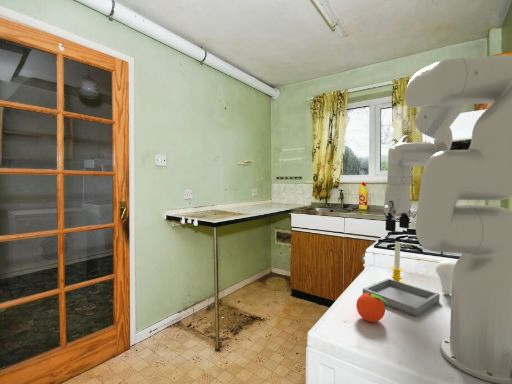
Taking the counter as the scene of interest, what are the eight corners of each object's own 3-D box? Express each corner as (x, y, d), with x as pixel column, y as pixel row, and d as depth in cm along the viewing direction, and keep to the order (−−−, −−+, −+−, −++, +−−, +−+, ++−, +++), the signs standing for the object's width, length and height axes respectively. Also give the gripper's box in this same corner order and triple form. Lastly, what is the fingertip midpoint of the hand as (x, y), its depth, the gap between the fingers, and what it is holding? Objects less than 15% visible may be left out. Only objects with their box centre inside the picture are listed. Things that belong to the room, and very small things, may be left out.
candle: (403, 282, 95) (405, 239, 94) (405, 287, 90) (406, 242, 89) (387, 279, 97) (389, 238, 96) (388, 284, 92) (389, 241, 92)
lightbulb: (450, 291, 87) (451, 258, 87) (463, 299, 81) (464, 264, 81) (431, 290, 88) (432, 257, 87) (442, 298, 82) (443, 263, 81)
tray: (439, 302, 79) (439, 294, 79) (415, 317, 70) (416, 308, 70) (388, 285, 92) (388, 278, 92) (362, 296, 83) (362, 288, 82)
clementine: (390, 319, 69) (391, 292, 69) (387, 332, 63) (388, 303, 63) (358, 311, 73) (359, 286, 73) (353, 322, 67) (353, 295, 67)
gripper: (400, 181, 100) (398, 225, 101) (375, 181, 90) (374, 230, 91) (421, 181, 94) (419, 228, 95) (397, 181, 84) (395, 234, 85)
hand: (397, 229), depth 93 cm, fingers open, 9 cm apart
